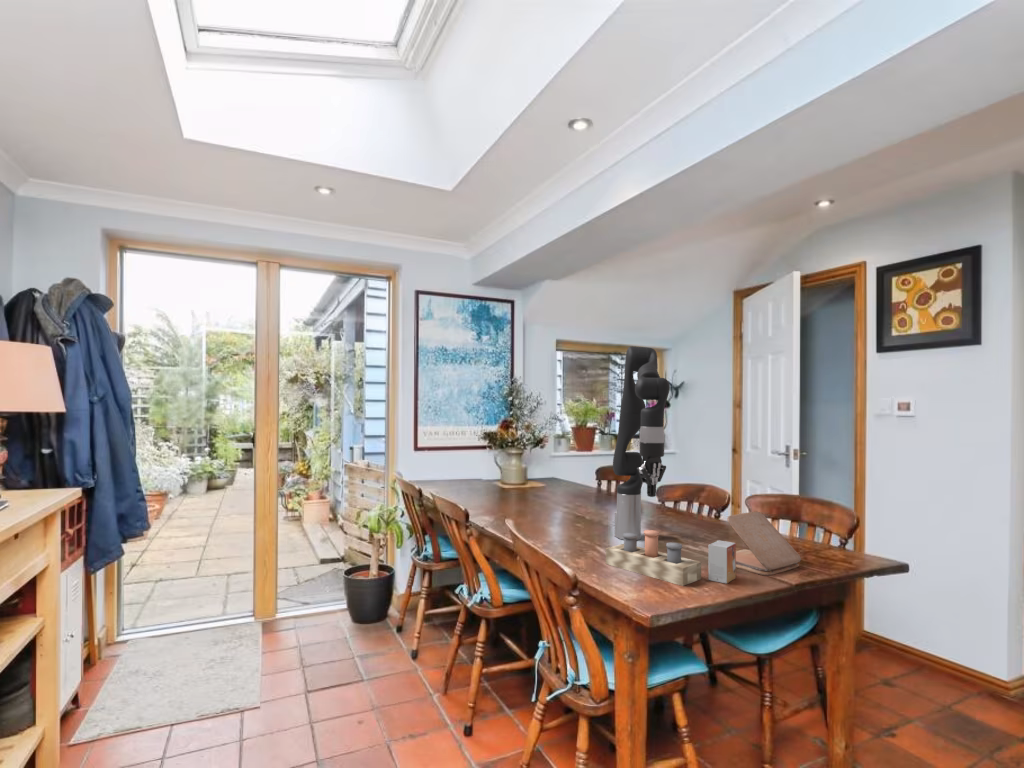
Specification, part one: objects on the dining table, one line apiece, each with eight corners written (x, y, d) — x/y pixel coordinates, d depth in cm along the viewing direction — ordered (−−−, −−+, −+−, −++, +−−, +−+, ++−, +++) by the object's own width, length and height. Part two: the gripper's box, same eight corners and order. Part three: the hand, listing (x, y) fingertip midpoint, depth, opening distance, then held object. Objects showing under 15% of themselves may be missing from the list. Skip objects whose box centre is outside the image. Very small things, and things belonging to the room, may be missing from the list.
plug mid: (640, 563, 171) (640, 531, 172) (649, 560, 174) (649, 529, 175) (653, 566, 168) (653, 534, 168) (662, 563, 171) (662, 531, 171)
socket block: (605, 563, 178) (605, 548, 178) (624, 558, 185) (624, 543, 185) (682, 586, 157) (682, 568, 157) (701, 579, 164) (701, 562, 164)
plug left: (620, 565, 177) (620, 534, 178) (628, 562, 180) (628, 532, 181) (631, 568, 174) (631, 537, 174) (640, 565, 177) (640, 534, 177)
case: (767, 578, 166) (768, 524, 167) (708, 561, 184) (709, 512, 184) (804, 568, 177) (804, 518, 178) (745, 553, 195) (745, 507, 196)
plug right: (663, 577, 165) (663, 544, 166) (671, 574, 168) (671, 541, 169) (676, 580, 162) (676, 547, 162) (685, 577, 165) (685, 544, 165)
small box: (727, 584, 159) (726, 547, 160) (707, 580, 163) (707, 544, 163) (736, 578, 165) (736, 542, 166) (717, 574, 169) (717, 539, 169)
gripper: (654, 439, 180) (653, 492, 180) (629, 441, 172) (628, 496, 171) (674, 441, 175) (673, 496, 174) (649, 442, 166) (649, 500, 165)
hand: (651, 496), depth 172 cm, fingers closed
